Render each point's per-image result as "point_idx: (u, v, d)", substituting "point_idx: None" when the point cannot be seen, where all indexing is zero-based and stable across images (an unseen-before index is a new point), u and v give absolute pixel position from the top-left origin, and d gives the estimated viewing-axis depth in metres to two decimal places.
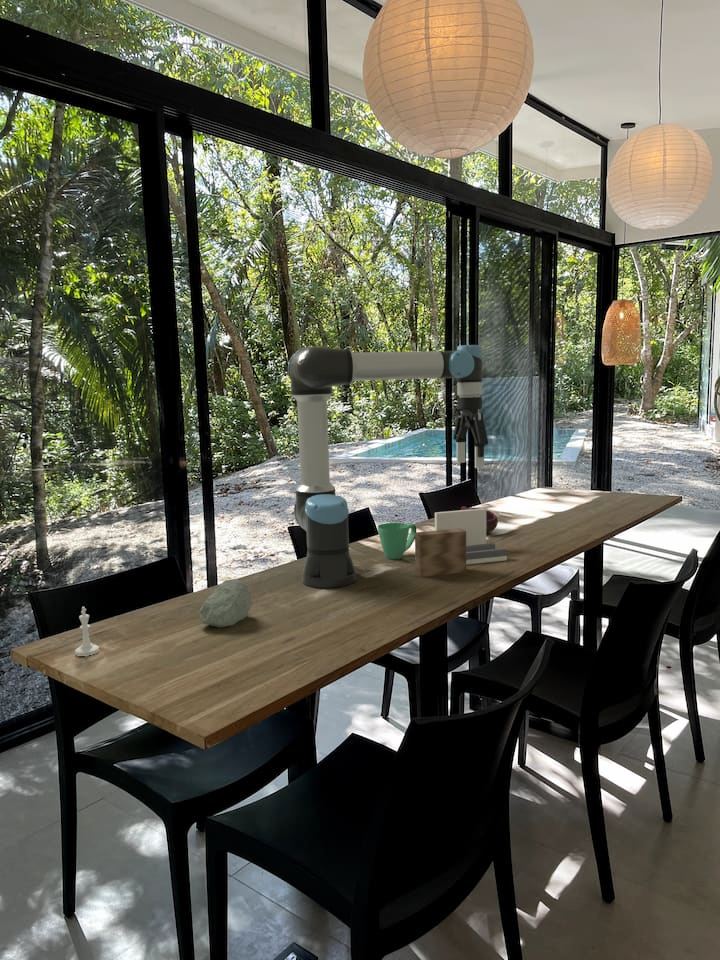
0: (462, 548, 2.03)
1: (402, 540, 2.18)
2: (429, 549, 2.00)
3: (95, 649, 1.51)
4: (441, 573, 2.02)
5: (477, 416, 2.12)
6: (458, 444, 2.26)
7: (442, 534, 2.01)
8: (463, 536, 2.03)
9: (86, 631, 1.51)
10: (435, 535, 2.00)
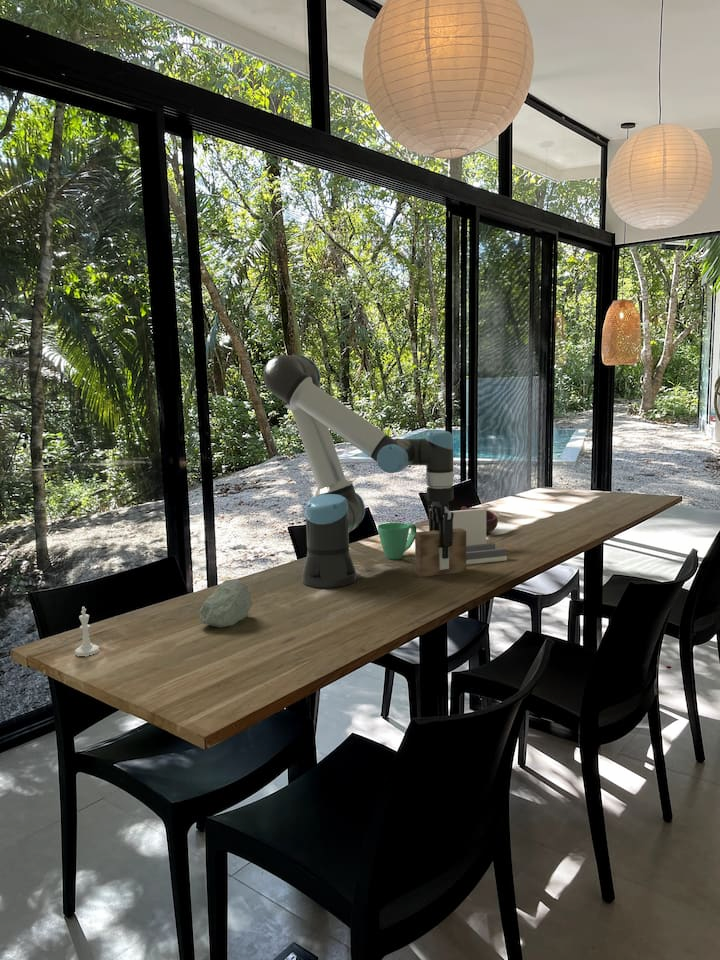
0: (462, 548, 2.03)
1: (402, 540, 2.18)
2: (429, 549, 2.00)
3: (95, 649, 1.51)
4: (441, 573, 2.02)
5: (447, 517, 1.96)
6: None
7: None
8: (463, 536, 2.03)
9: (86, 631, 1.51)
10: (435, 535, 2.00)
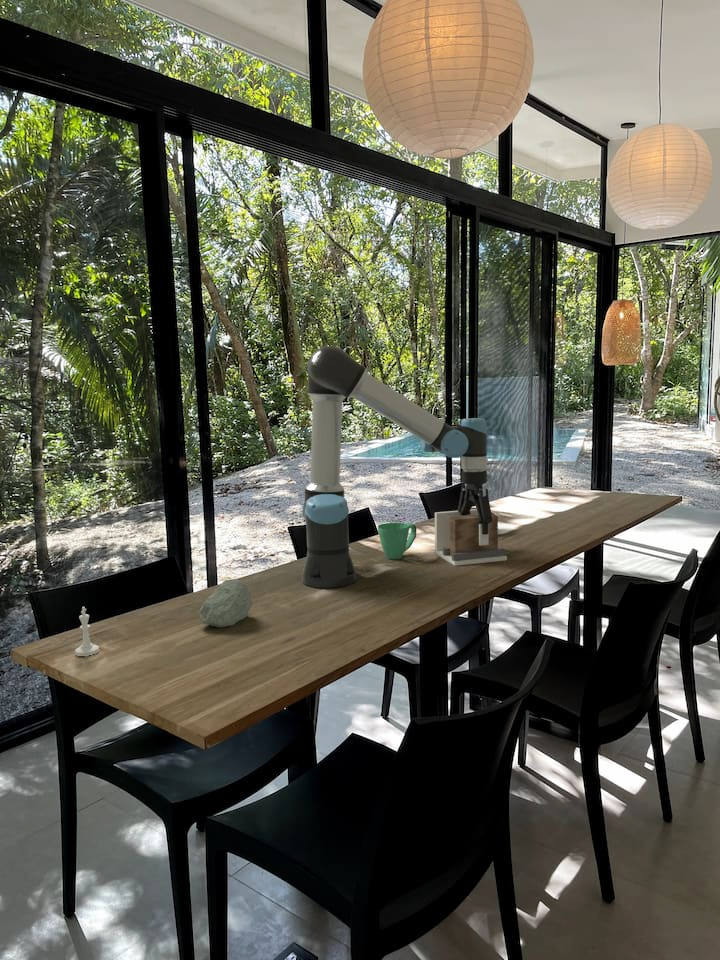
0: (494, 532, 2.16)
1: (402, 540, 2.18)
2: (463, 532, 2.14)
3: (95, 649, 1.51)
4: None
5: (482, 493, 2.08)
6: None
7: (476, 518, 2.14)
8: (495, 520, 2.16)
9: (86, 631, 1.51)
10: (469, 519, 2.14)
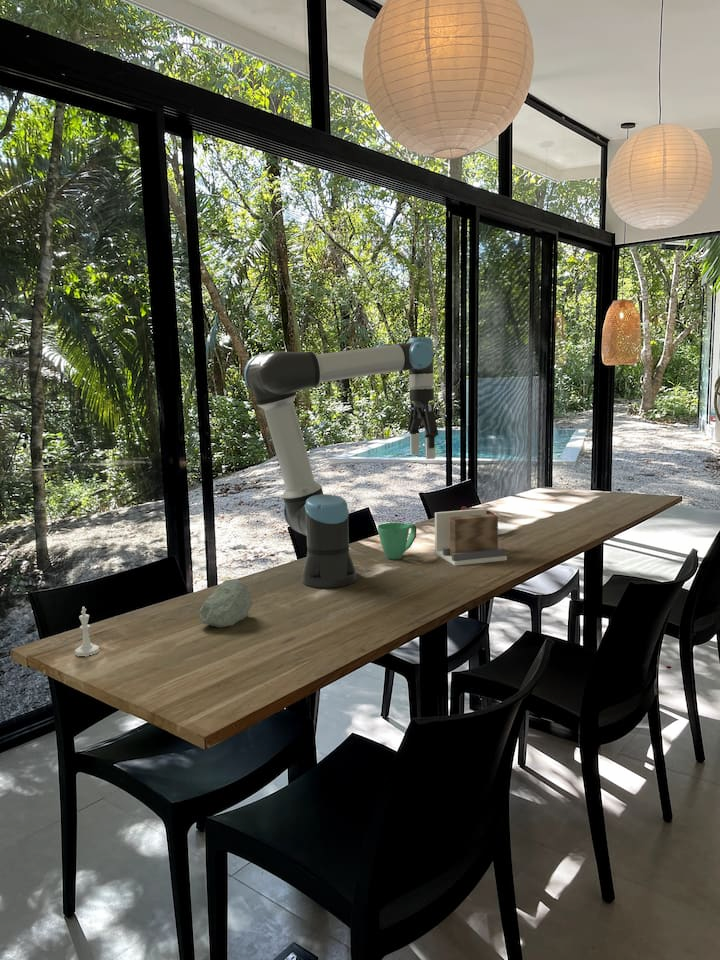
0: (494, 532, 2.16)
1: (402, 540, 2.18)
2: (463, 532, 2.14)
3: (95, 649, 1.51)
4: None
5: (427, 407, 2.15)
6: (412, 436, 2.29)
7: (476, 518, 2.14)
8: (495, 520, 2.16)
9: (86, 631, 1.51)
10: (469, 519, 2.14)
